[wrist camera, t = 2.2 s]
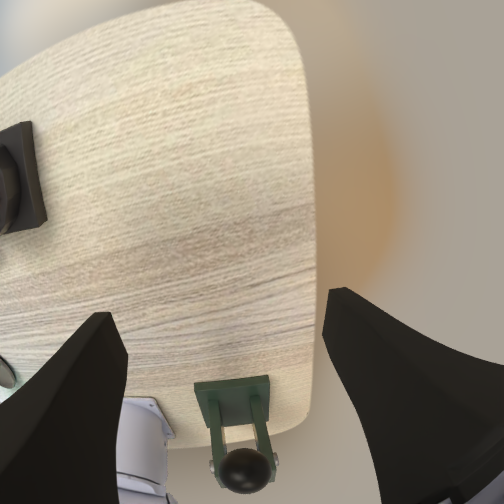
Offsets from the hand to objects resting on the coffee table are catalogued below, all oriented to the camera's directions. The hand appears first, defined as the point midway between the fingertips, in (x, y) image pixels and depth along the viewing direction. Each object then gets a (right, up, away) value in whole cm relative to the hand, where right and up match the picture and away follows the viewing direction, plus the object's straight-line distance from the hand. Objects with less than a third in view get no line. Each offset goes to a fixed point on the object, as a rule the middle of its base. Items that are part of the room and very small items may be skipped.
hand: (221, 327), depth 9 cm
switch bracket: (-1, -13, +17) cm, 22 cm away
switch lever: (0, -12, +8) cm, 14 cm away
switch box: (-17, +7, +4) cm, 19 cm away
